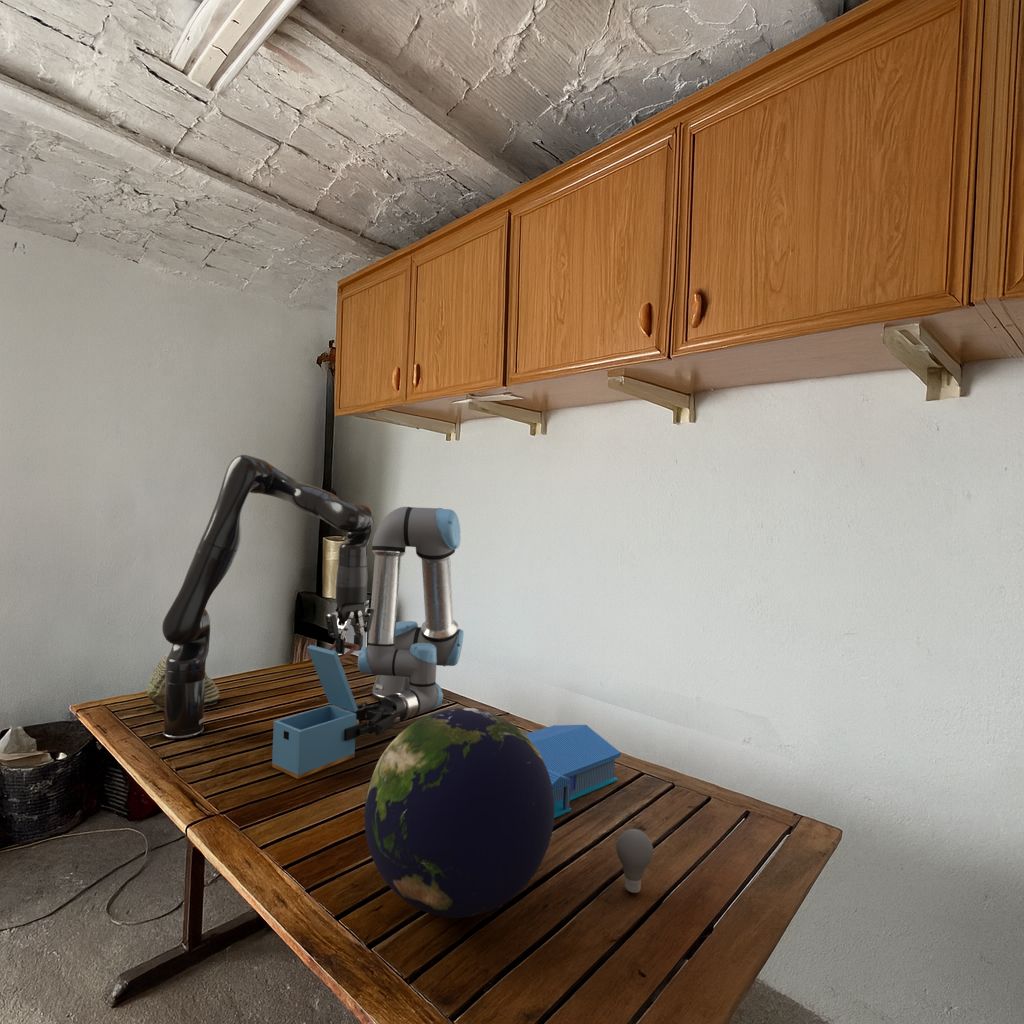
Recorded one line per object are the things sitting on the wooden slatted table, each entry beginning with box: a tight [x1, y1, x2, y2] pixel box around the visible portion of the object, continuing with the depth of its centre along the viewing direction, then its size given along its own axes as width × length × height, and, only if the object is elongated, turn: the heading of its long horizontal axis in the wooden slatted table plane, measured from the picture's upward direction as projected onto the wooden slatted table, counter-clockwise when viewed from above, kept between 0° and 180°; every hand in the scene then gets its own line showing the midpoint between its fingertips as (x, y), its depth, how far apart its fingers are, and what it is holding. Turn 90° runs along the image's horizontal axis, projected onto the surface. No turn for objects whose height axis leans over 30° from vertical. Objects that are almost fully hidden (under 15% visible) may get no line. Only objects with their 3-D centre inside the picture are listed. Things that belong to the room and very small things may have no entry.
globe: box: [363, 707, 555, 919], centre depth 101 cm, size 30×30×30 cm
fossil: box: [147, 654, 221, 712], centre depth 185 cm, size 9×18×15 cm, turn 132°
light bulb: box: [615, 828, 654, 894], centre depth 106 cm, size 6×6×10 cm
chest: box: [271, 704, 356, 780], centre depth 151 cm, size 16×10×11 cm, turn 145°
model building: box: [524, 724, 622, 819], centre depth 141 cm, size 39×24×10 cm, turn 132°
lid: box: [307, 640, 360, 712], centre depth 157 cm, size 17×10×8 cm
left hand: (349, 651), depth 158 cm, fingers open, 5 cm apart
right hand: (331, 729), depth 155 cm, fingers closed on chest, 10 cm apart
